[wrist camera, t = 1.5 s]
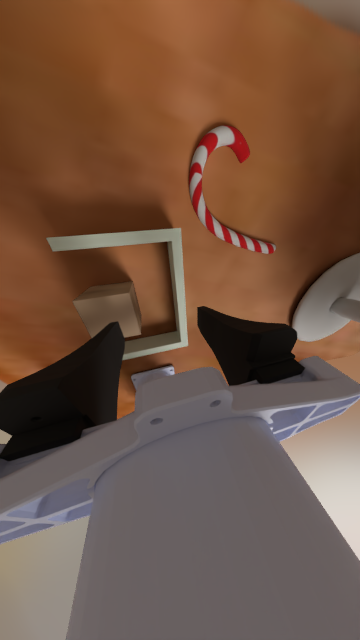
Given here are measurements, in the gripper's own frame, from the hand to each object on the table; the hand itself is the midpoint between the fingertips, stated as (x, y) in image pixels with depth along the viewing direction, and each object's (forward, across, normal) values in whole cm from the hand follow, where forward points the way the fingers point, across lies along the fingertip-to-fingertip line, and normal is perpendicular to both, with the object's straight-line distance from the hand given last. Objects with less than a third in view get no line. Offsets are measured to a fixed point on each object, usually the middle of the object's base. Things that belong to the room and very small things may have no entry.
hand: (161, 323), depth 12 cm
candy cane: (+8, -12, -9) cm, 17 cm away
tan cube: (+8, +5, 0) cm, 9 cm away
